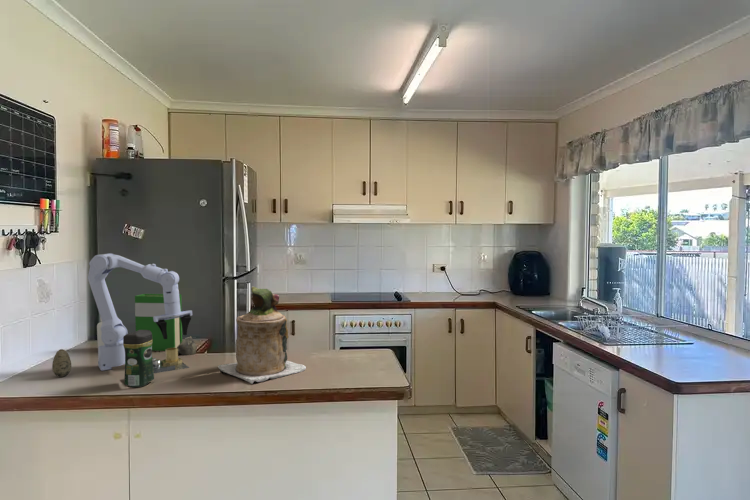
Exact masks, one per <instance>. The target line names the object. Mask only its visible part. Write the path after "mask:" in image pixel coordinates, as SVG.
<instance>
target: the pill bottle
mask: <svg viewBox="0 0 750 500" xmlns="http://www.w3.org/2000/svg"><path fill="white" fill-rule="evenodd" d="M99 321H100V322H98V323H97V325H96V335H97V336H96V337H97V348H98V347H99V346H103V345H104V343H103V342H102V339H101V335H102V331H101V326H102V319H101V316H100V315H99Z"/></svg>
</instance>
